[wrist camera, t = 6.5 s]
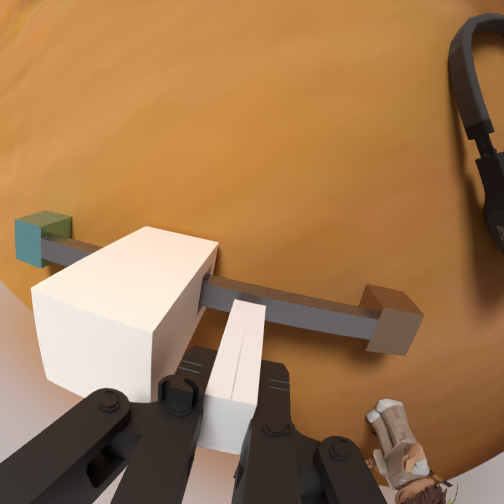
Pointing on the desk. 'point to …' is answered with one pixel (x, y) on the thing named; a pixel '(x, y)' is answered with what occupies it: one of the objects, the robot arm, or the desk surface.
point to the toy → (402, 457)
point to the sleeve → (123, 313)
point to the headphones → (479, 118)
